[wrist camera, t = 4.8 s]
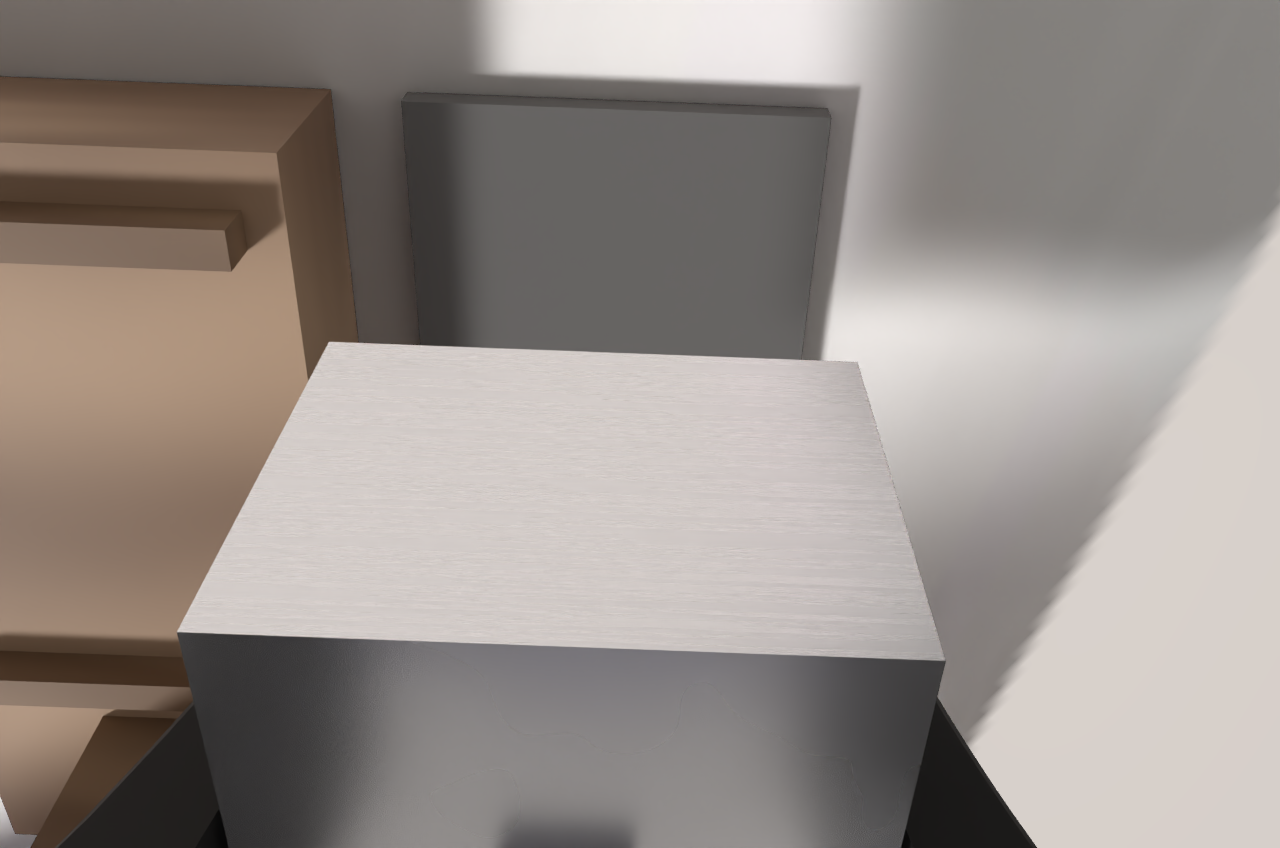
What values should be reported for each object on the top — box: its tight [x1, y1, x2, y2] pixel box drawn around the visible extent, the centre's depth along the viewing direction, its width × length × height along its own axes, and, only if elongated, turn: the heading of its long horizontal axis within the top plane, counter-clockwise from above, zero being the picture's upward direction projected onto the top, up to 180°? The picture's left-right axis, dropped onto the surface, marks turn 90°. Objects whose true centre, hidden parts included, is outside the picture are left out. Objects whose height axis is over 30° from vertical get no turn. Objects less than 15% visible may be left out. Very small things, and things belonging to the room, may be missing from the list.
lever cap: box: [177, 342, 946, 848], centre depth 10 cm, size 6×4×4 cm
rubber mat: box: [401, 92, 831, 360], centre depth 17 cm, size 7×6×1 cm
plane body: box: [0, 77, 359, 848], centre depth 16 cm, size 12×6×6 cm, turn 178°
